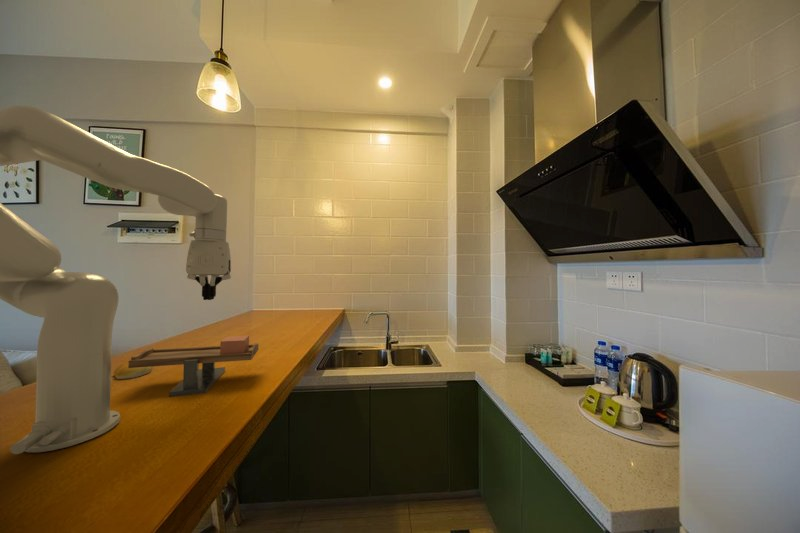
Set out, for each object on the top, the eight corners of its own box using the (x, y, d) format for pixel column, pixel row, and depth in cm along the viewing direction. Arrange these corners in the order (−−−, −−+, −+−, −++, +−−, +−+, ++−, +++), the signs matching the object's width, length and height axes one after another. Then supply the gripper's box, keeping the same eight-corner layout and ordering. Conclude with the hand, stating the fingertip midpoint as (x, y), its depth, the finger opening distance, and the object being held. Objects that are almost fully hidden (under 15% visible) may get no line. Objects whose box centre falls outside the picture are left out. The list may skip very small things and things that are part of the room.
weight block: (244, 354, 79) (244, 340, 79) (220, 355, 77) (220, 341, 77) (248, 348, 84) (249, 335, 85) (226, 349, 83) (227, 336, 83)
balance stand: (205, 392, 72) (206, 360, 72) (169, 396, 69) (169, 363, 69) (224, 371, 87) (225, 344, 87) (195, 373, 85) (196, 346, 85)
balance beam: (250, 363, 77) (251, 352, 77) (127, 371, 69) (127, 359, 69) (258, 351, 88) (258, 341, 88) (151, 358, 79) (152, 347, 79)
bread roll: (116, 382, 78) (117, 368, 78) (112, 374, 83) (112, 361, 83) (155, 374, 84) (155, 361, 84) (148, 367, 90) (148, 355, 90)
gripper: (174, 233, 74) (171, 301, 74) (235, 236, 78) (233, 300, 78) (187, 237, 82) (185, 298, 81) (243, 239, 86) (241, 298, 85)
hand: (208, 299), depth 80 cm, fingers closed
